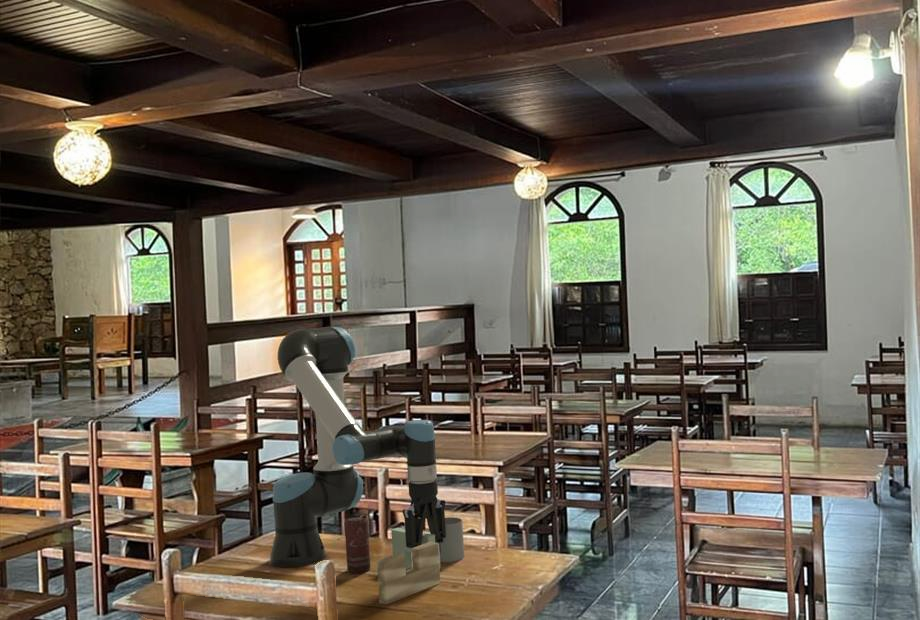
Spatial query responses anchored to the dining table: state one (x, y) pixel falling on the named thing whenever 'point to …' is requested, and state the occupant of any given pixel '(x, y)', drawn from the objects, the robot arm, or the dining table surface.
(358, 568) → the can
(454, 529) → the cup
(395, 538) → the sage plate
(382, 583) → the birch plate
